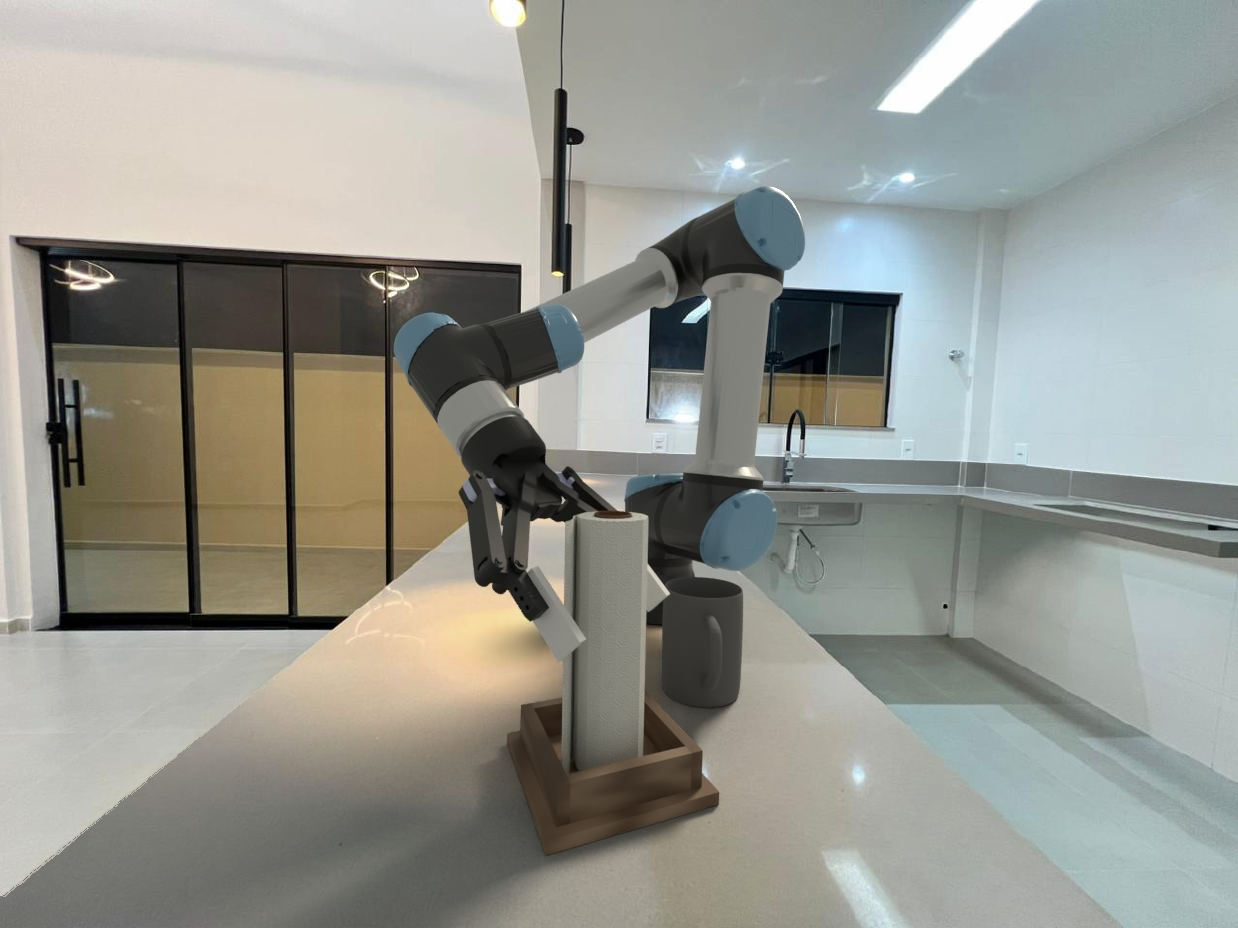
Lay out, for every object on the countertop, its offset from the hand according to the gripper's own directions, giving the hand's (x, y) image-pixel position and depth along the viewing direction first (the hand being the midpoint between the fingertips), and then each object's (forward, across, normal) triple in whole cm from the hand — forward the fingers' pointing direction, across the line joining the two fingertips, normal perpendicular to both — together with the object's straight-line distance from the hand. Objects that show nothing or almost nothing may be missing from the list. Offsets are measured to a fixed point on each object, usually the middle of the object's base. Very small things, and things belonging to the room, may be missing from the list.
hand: (621, 624), depth 43 cm
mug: (+10, -17, -9) cm, 22 cm away
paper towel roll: (+8, 0, -10) cm, 13 cm away
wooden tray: (+8, 0, -10) cm, 13 cm away
